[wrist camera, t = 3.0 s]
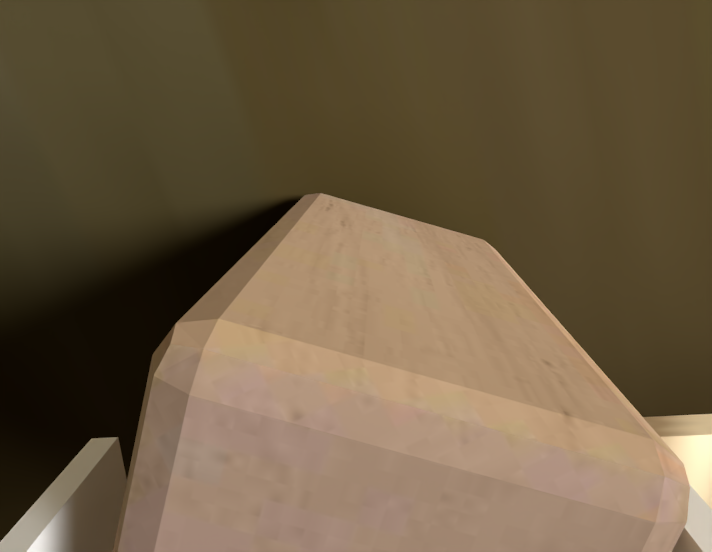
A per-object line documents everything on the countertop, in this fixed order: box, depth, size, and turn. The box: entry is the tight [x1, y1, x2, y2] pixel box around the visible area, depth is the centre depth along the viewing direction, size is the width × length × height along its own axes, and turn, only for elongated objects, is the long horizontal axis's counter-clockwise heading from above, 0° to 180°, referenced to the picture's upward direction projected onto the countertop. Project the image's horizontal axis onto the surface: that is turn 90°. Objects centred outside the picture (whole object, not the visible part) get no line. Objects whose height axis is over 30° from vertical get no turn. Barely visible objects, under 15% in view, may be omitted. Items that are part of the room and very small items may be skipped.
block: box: [113, 193, 690, 552], centre depth 20 cm, size 10×10×20 cm
